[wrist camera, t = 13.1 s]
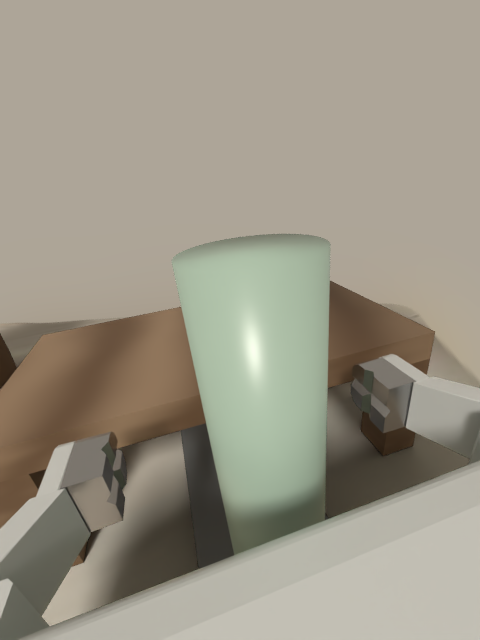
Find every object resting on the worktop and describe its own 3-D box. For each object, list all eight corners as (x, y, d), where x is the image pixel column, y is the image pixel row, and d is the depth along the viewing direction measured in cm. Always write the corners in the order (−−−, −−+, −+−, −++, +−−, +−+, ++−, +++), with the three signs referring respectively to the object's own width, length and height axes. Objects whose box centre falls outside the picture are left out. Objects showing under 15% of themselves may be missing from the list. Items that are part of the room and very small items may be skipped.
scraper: (384, 635, 10) (474, 238, 4) (220, 717, 9) (49, 322, 3) (245, 373, 25) (224, 204, 20) (176, 391, 24) (132, 217, 18)
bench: (35, 579, 13) (-56, 462, 10) (82, 422, 22) (42, 335, 19) (412, 445, 17) (435, 331, 14) (323, 359, 26) (324, 277, 23)
